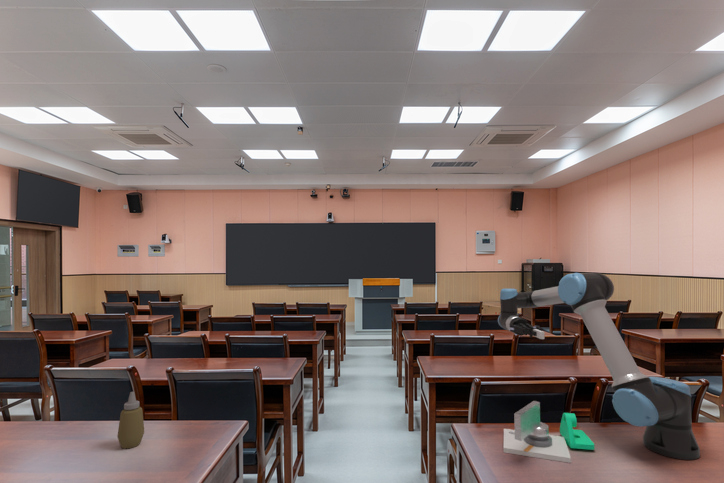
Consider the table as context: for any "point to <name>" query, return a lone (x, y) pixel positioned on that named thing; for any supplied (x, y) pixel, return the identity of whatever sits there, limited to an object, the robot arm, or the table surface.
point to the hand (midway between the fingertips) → (542, 335)
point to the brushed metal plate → (530, 423)
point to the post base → (537, 447)
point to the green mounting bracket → (574, 433)
